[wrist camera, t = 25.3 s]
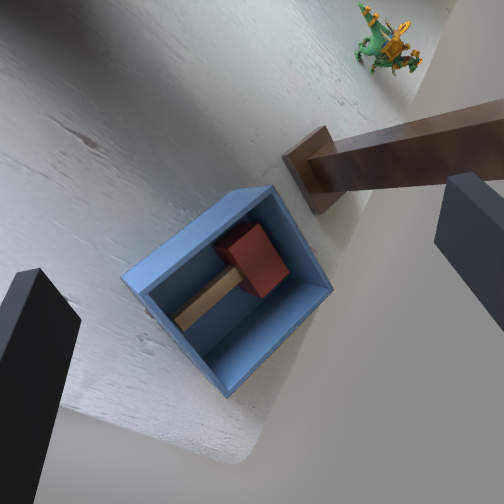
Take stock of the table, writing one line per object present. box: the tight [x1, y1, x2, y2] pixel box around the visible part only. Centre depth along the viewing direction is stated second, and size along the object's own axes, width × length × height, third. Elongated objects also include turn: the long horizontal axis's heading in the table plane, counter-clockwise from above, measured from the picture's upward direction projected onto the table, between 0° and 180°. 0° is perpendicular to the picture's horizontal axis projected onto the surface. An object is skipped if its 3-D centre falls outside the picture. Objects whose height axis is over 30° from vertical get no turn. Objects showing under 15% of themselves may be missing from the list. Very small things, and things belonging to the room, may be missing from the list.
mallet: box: [170, 222, 290, 332], centre depth 40 cm, size 7×13×4 cm, turn 126°
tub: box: [120, 185, 334, 399], centre depth 39 cm, size 14×16×9 cm
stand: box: [282, 98, 504, 215], centre depth 36 cm, size 10×7×28 cm
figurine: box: [354, 2, 422, 76], centre depth 47 cm, size 3×12×8 cm, turn 61°
